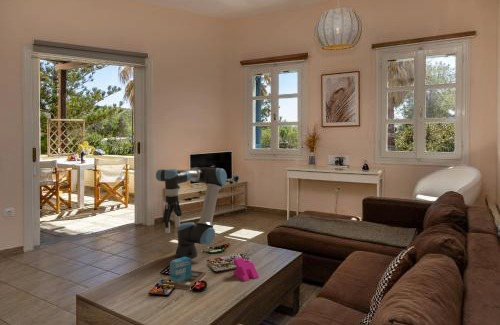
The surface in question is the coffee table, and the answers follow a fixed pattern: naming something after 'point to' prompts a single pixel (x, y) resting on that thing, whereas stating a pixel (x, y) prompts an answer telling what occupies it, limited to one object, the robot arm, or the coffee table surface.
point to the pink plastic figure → (245, 269)
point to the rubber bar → (195, 275)
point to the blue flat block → (180, 269)
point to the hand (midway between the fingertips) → (173, 229)
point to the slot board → (187, 281)
